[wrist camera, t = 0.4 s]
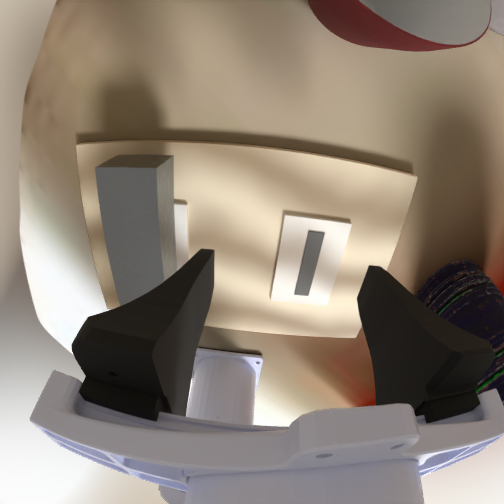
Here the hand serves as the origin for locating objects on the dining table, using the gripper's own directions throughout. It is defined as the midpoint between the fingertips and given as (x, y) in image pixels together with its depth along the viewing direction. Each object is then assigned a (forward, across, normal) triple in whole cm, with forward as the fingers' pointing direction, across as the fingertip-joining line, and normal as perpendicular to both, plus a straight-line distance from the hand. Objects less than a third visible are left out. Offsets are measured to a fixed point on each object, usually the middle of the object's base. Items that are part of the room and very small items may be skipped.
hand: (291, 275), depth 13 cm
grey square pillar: (+8, +9, +5) cm, 13 cm away
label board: (+9, +3, +4) cm, 11 cm away
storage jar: (+9, -20, +8) cm, 23 cm away
